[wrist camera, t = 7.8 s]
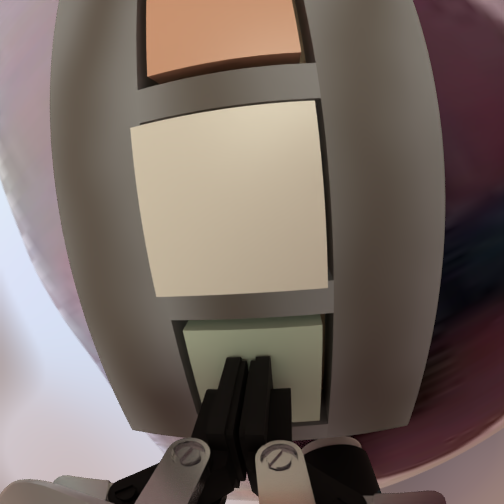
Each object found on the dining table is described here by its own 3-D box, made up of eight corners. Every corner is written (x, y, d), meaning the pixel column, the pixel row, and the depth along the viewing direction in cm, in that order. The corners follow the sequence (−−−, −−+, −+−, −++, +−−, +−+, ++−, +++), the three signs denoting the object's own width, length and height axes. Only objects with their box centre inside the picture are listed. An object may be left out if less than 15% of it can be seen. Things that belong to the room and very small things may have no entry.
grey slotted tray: (362, -18, 10) (384, -65, 5) (386, 372, 16) (407, 425, 11) (106, 20, 11) (60, -9, 7) (158, 380, 17) (132, 429, 13)
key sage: (315, 295, 12) (322, 324, 10) (315, 384, 14) (319, 420, 11) (199, 301, 13) (182, 330, 11) (217, 387, 14) (207, 421, 12)
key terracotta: (280, -20, 9) (280, -52, 6) (297, 74, 10) (301, 52, 8) (168, -2, 9) (147, -27, 7) (172, 91, 11) (147, 76, 8)
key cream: (306, 116, 9) (314, 100, 7) (318, 260, 11) (328, 288, 8) (162, 134, 10) (130, 127, 7) (181, 269, 11) (156, 297, 9)
